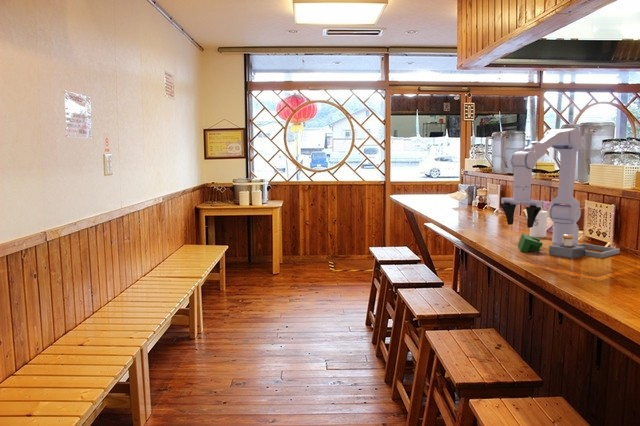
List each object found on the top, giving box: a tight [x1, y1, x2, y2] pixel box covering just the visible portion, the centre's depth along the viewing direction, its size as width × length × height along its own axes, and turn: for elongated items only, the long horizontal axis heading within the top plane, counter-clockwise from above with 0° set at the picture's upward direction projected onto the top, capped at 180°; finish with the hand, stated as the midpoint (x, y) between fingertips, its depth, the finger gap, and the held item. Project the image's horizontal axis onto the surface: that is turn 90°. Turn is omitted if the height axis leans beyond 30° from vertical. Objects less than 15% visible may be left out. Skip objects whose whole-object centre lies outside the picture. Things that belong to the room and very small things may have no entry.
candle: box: [529, 206, 549, 238], centre depth 207 cm, size 6×6×15 cm
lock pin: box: [562, 234, 573, 248], centre depth 166 cm, size 3×3×7 cm
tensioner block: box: [548, 243, 586, 260], centre depth 166 cm, size 8×8×4 cm
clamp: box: [517, 233, 543, 253], centre depth 176 cm, size 12×6×9 cm, turn 157°
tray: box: [577, 242, 620, 259], centre depth 171 cm, size 13×13×2 cm
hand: (519, 225), depth 171 cm, fingers open, 7 cm apart
